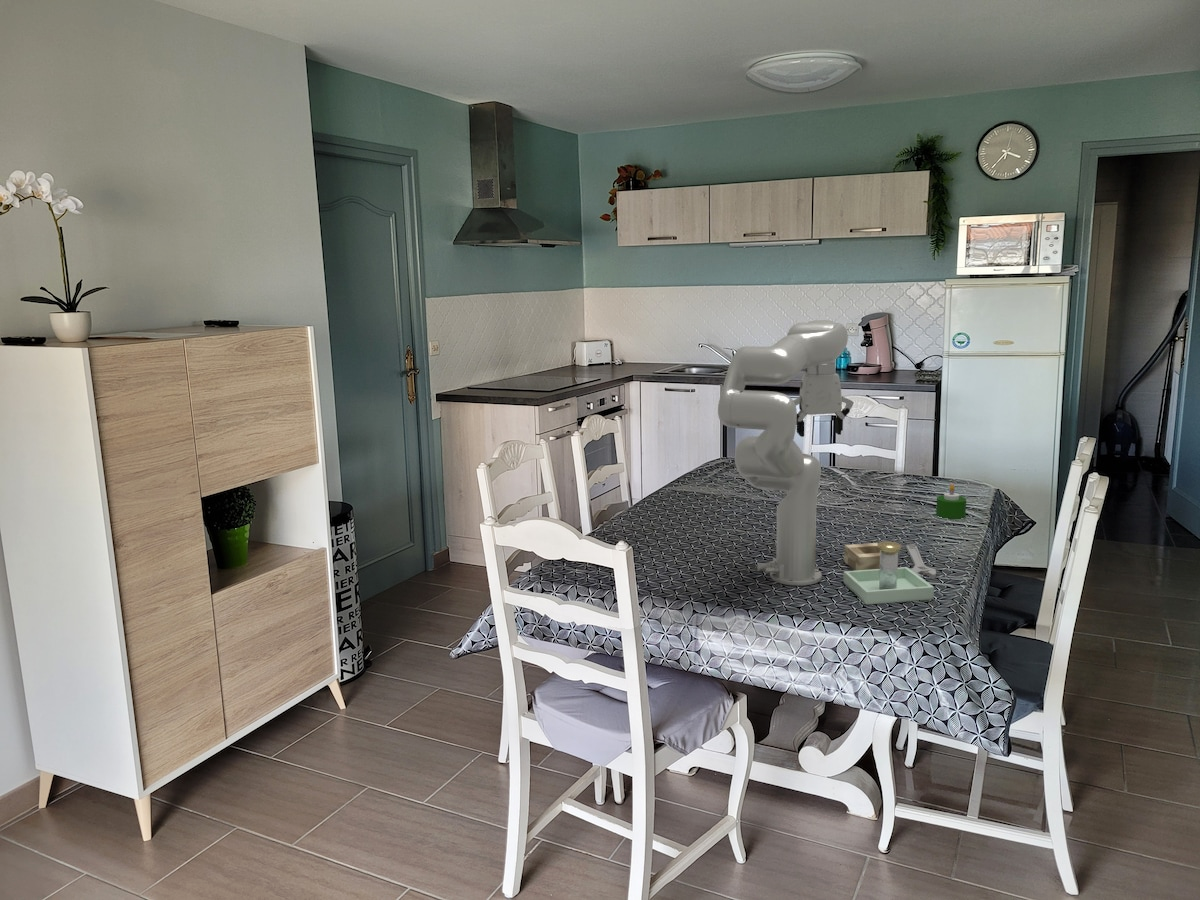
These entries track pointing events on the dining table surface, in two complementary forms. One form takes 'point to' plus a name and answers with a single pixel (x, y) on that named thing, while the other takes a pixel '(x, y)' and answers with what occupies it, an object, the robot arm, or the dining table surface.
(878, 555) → the block
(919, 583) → the tray
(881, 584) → the gold-capped cylinder
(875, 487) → the dining table surface
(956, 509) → the candle
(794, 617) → the dining table surface
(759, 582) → the dining table surface
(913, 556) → the adjustable wrench
